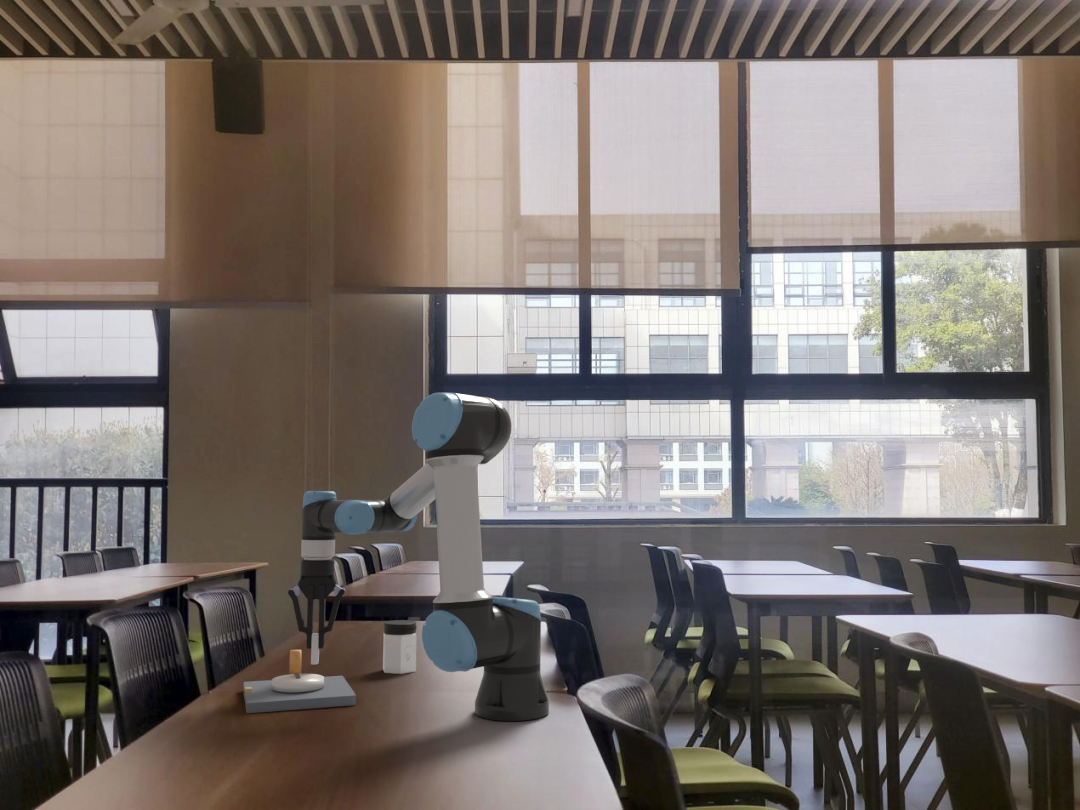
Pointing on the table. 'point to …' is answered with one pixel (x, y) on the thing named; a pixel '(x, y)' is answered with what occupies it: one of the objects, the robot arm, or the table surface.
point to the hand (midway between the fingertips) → (314, 663)
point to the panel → (297, 696)
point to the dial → (297, 677)
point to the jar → (399, 647)
